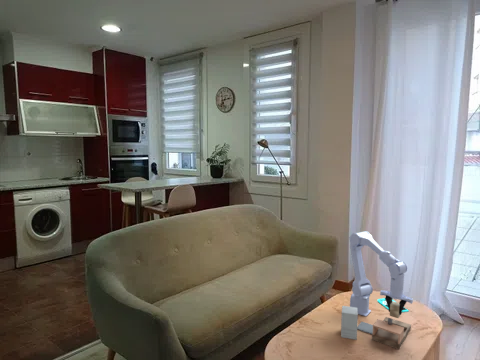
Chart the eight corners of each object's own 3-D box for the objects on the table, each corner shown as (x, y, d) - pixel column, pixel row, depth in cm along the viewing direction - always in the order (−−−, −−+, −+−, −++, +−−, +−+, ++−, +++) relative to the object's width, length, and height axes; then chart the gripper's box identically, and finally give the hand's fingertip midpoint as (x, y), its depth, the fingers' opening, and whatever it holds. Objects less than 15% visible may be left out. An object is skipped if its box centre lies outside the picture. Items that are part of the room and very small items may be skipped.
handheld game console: (390, 299, 201) (390, 297, 201) (409, 312, 186) (409, 310, 186) (375, 301, 199) (375, 298, 199) (393, 314, 183) (393, 312, 183)
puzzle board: (371, 339, 159) (372, 335, 159) (385, 320, 176) (385, 316, 176) (399, 349, 152) (399, 345, 152) (410, 328, 169) (411, 324, 169)
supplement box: (356, 332, 165) (358, 307, 164) (356, 340, 159) (358, 314, 157) (341, 329, 168) (342, 305, 166) (340, 337, 161) (341, 312, 159)
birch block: (389, 315, 166) (390, 304, 165) (391, 312, 169) (392, 301, 168) (398, 318, 163) (399, 306, 163) (400, 315, 167) (401, 303, 166)
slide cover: (372, 334, 159) (373, 320, 158) (377, 328, 165) (377, 314, 164) (399, 344, 152) (400, 329, 151) (403, 337, 157) (404, 322, 156)
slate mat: (356, 329, 168) (356, 327, 168) (361, 322, 174) (361, 321, 174) (372, 334, 163) (372, 333, 163) (377, 327, 169) (377, 326, 169)
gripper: (378, 284, 166) (377, 311, 168) (411, 293, 157) (409, 320, 158) (383, 280, 171) (381, 305, 173) (414, 288, 162) (412, 314, 164)
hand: (395, 312), depth 166 cm, fingers closed on birch block, 4 cm apart
